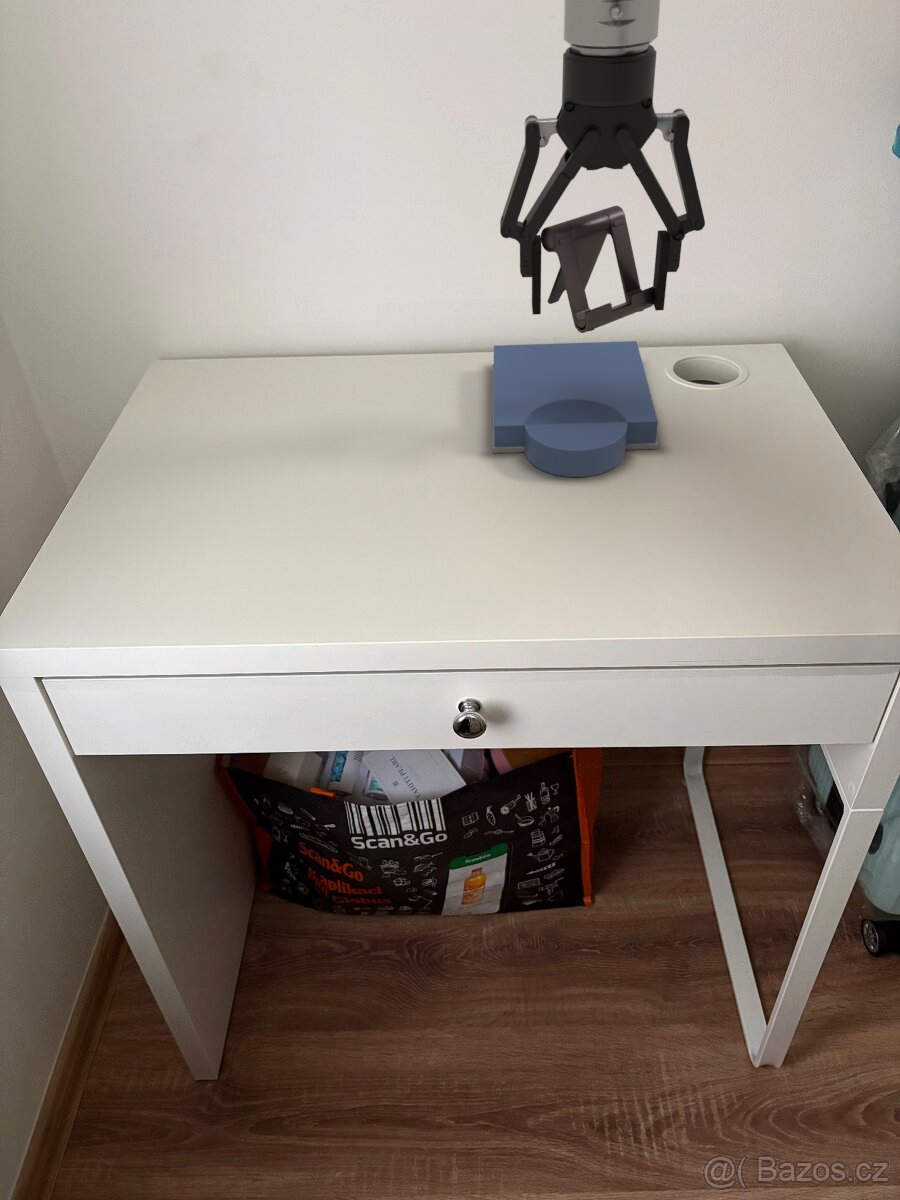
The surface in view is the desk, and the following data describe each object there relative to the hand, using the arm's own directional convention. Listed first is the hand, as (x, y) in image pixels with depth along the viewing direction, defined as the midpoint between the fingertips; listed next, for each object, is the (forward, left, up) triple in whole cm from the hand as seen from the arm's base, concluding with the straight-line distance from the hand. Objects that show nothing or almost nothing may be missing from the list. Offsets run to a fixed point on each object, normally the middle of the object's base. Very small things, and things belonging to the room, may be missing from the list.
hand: (596, 306), depth 92 cm
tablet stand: (0, 0, -1) cm, 1 cm away
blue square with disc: (+2, +2, -13) cm, 13 cm away
